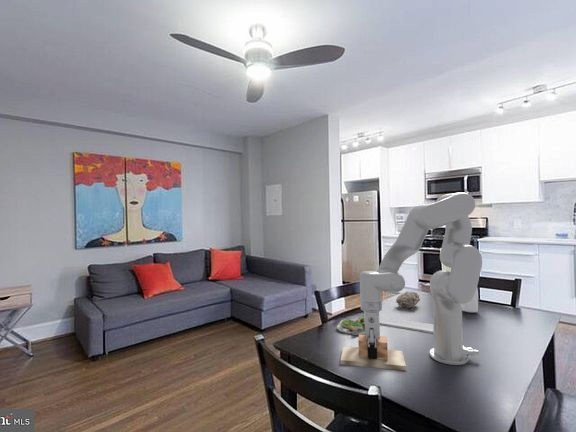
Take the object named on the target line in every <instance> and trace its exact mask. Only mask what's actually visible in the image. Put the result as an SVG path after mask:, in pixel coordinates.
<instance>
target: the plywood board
mask: <svg viewBox="0 0 576 432" xmlns="http://www.w3.org/2000/svg"><path fill="white" fill-rule="evenodd" d="M340 356H341V357H340V365H346V366H356V367H366V368H377V369H386V370H387V369H388V370H398V371H400V370H401V371H407V364H406V361H405V356H404V352H403V350H396V349H388V360H384V359H371V358H362V357H359V346H358V347H356V346H345V345H343V347H342V352H341V355H340Z"/></svg>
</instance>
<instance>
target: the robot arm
mask: <svg viewBox="0 0 576 432" xmlns="http://www.w3.org/2000/svg"><path fill="white" fill-rule="evenodd" d="M475 208H476V201H475V199H474V197H473V196H472V195H471V194H470V193H467V192H455V193H446V194H443V195H440V196H439V197H438V198H437V199H436V200H435V202H433V203H429V204H421V205H417V206H413V208H411V210H410V211H409V213H408V215H407V217H406V219H405V220H404V221H405V222H404V223H403V226H402V228H401V230H400V232H399V234H398V236H397V238H396V240H395V241H394V243H393V244H392V245H391V247H390V248H389V249H388V250H387V252H386V253H385V254H384V257H383V258H382V260H381V262H380V264H379V266H378V268H377V270H376V271H375V270H364V271H361V272H360V273H359V298H360V299H359V300H360V305H359V306H360V310H361V311H363V316H364V322H365V333H366V334H365V335H366V338H367V339H368V358H371V359H377V347H376V339H378V340H380V336H381V330H380V328H381V327H380V326H381V325H380V320H379V316H380V312H381V311H382V310H383V309H382V293H393V294H394V293H395V294H396V293H399V292H401V291H402V290H404V288H405V286H406V281H405V278H404V276H403V275H402V274H400V273H399V270H400V269H401V266H402V265H403V263H404V262H405V261H406V260H407V259H409V258H410V257H411V256H412V257H413V256H414V255H416V254H417V253H418V252H419V251H420V249H421V247H422V245H423V242H424V240H425V239H426V236H427V234H428V233H429V231H430V230H434V229H439V228H441V227H444V226H445V229H444V230H445V231H444V232H445V233H444V237H443V240H442V244H441V248H440V253H439V260H440V262H441V264H442V265H443V266H444V267H447V268H450V270H449V271H448V270H444V269H443V270H438V271H435V272H434V273H433V274H432V275H431V277H430V280H429V288H430V294H431V300H432V321H433V322H432V324H433V332H434V333H433V348H431V349H429V356H430V357H431V358H432V359H433V360H434V361H437V362H439V363H441V364H446V365H451V366H461V365H466V364H467V363H468V362H469V356H475V357H479V355H480V354H479V350H477V349H473V348H472V347H465V346H464V340H463V338H464V337H463V336H464V335H463V311H462V307H461V304H466V303H468V302H469V301H471V300H472V298H473V297H474V295H475V292H476V289H477V290H478V284H479V279H480V276H481V272H482V267H483V257H482V254H481V252H480V250H478V249H477V247H475V246H474V245H471V238H472V233H473V232H472V231H473V226H472V222H471V219H470V217H469V216H470V215H471V214H472V213H473V212H474V210H475ZM369 336H370V338H369ZM374 337H375V338H374ZM374 341H375V342H374Z"/></svg>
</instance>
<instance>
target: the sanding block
mask: <svg viewBox="0 0 576 432" xmlns="http://www.w3.org/2000/svg"><path fill="white" fill-rule="evenodd" d="M369 338H370V336H369ZM374 338H375V337H374ZM357 342H358V347H359V357H362V358H368V339H367V338H366V334H364V335H360V334H359V335H358V341H357ZM374 342H375V341H374ZM376 347H377V359H384V360H388V350H389V349H388V338H387V336H386V335H385V336H384V335H380V340H378V339H376Z"/></svg>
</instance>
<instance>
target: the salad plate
mask: <svg viewBox="0 0 576 432" xmlns="http://www.w3.org/2000/svg"><path fill="white" fill-rule="evenodd" d="M343 328H346V329H348V330H347V331H345V330H344V329H343ZM336 329H337V331H339V333H343V334H345V335H353V336H359V334H360V335H366V333H365V322H364V315H363V316H360V317H358V319H351V318H347V319H346V318H345V319H342V320H340V322H338V324H337V325H336Z"/></svg>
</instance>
